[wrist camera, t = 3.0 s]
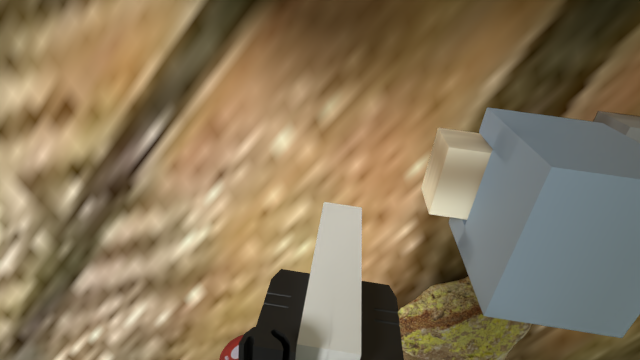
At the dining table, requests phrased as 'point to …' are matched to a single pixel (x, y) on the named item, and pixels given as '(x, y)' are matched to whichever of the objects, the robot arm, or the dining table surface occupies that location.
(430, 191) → the beam
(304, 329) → the robot arm
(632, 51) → the dining table surface
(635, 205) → the grey block
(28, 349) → the dining table surface
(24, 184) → the dining table surface
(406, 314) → the rock
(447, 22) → the dining table surface
